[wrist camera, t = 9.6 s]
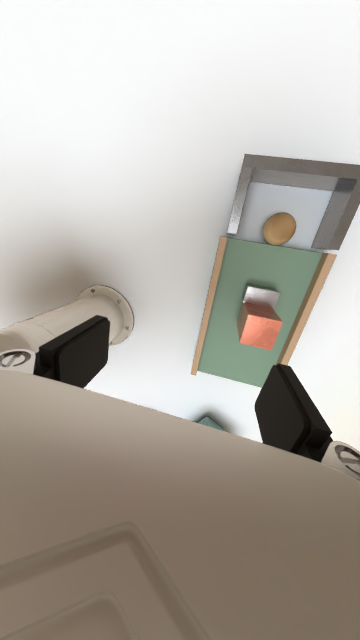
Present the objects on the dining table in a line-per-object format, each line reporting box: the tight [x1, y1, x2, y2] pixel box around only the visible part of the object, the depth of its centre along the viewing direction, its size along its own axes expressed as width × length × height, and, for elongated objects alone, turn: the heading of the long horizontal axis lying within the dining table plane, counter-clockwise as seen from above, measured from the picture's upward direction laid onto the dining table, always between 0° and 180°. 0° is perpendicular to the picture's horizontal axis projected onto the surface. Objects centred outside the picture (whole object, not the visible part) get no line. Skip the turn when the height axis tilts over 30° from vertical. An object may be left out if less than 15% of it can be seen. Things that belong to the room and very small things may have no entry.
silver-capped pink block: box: [237, 283, 283, 351], centre depth 27 cm, size 7×4×8 cm, turn 170°
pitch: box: [191, 236, 337, 387], centre depth 32 cm, size 24×15×3 cm, turn 170°
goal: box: [227, 154, 360, 250], centre depth 25 cm, size 8×13×5 cm, turn 80°
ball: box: [263, 213, 296, 245], centre depth 26 cm, size 4×4×4 cm
